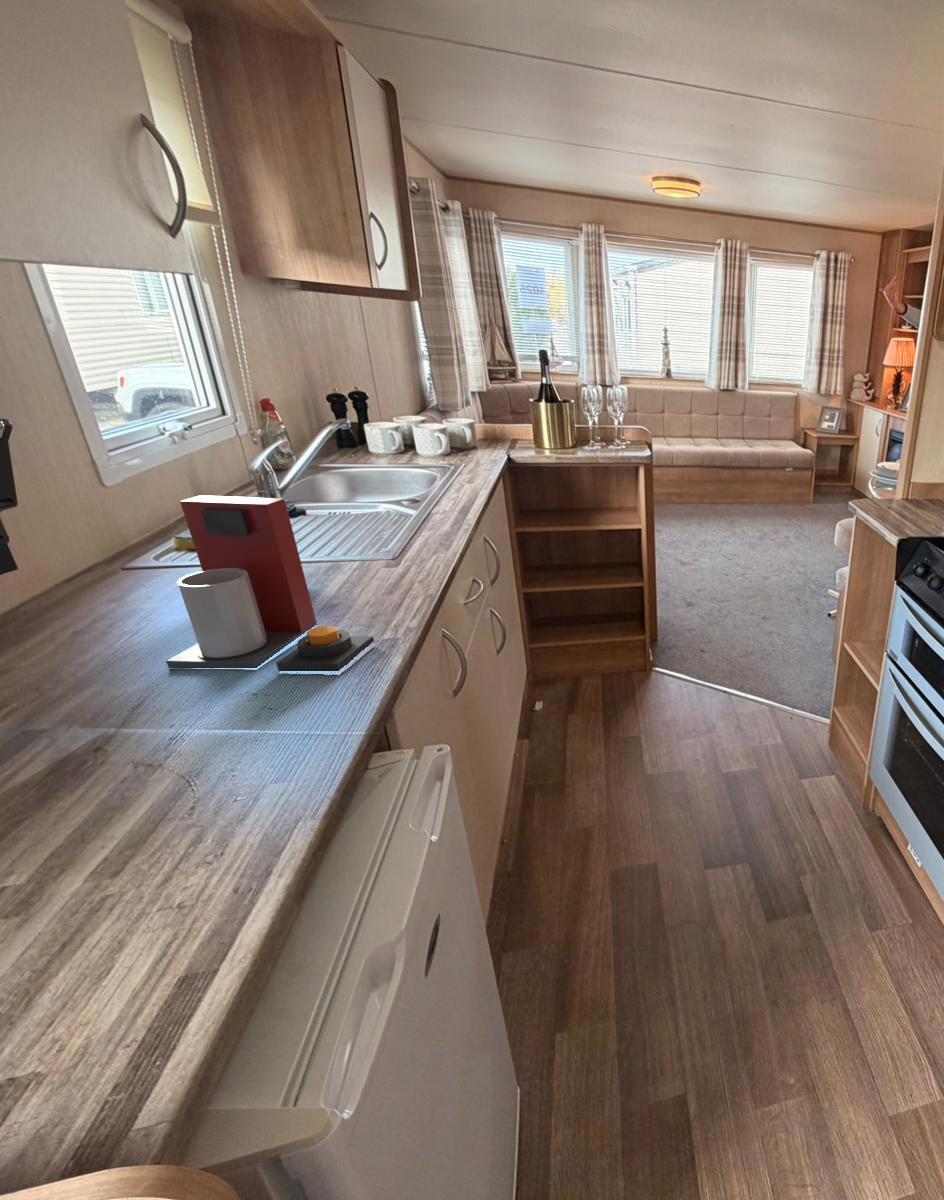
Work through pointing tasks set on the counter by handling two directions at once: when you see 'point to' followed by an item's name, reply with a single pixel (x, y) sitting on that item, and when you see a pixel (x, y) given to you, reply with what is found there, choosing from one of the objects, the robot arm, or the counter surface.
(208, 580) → the white tumbler
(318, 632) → the button
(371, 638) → the control block
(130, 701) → the counter surface
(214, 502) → the coffee machine
